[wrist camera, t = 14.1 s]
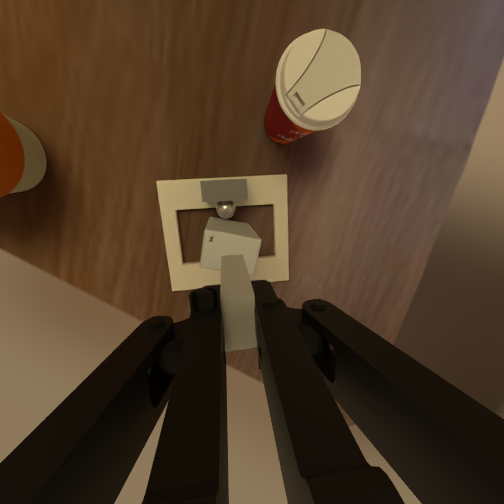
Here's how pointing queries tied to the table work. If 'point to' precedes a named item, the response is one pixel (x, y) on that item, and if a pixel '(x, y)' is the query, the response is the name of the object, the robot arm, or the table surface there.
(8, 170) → the reusable coffee cup
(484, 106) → the table surface
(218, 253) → the skincare box
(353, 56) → the paper cup
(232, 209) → the silver metal knob
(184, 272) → the socket board
